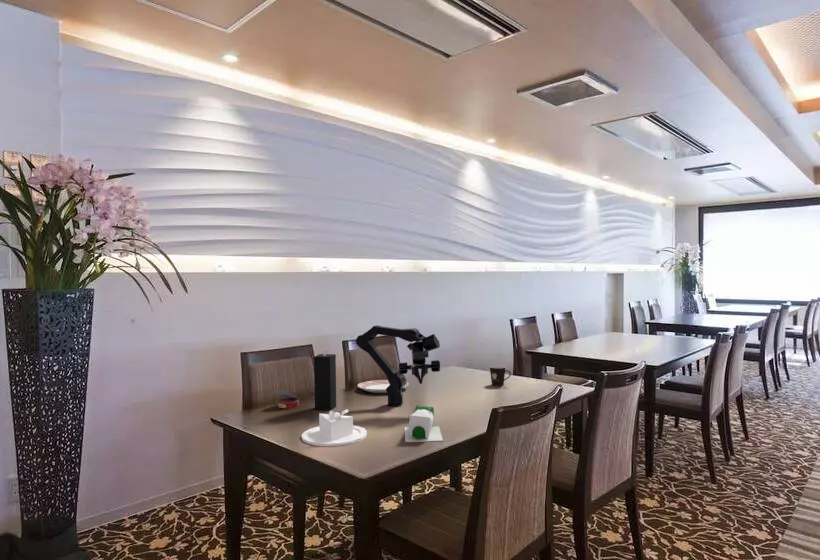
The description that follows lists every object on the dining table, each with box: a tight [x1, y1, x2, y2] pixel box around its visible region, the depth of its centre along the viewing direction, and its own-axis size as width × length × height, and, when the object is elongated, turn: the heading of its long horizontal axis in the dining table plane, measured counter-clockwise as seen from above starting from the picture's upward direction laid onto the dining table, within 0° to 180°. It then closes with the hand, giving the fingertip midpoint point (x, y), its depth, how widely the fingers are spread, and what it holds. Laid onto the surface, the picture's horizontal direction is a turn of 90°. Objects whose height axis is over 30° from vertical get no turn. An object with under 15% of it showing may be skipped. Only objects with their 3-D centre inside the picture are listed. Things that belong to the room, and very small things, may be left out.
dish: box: [301, 408, 368, 447], centre depth 206 cm, size 25×25×11 cm
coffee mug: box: [489, 365, 512, 387], centre depth 293 cm, size 12×9×10 cm
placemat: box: [403, 425, 444, 443], centre depth 207 cm, size 18×14×1 cm
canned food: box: [277, 390, 300, 410], centre depth 253 cm, size 11×10×10 cm
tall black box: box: [313, 347, 337, 411], centre depth 248 cm, size 8×8×28 cm
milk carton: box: [408, 404, 435, 439], centre depth 208 cm, size 9×9×20 cm
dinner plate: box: [357, 379, 409, 394], centre depth 287 cm, size 28×27×3 cm
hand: (420, 383), depth 237 cm, fingers closed
